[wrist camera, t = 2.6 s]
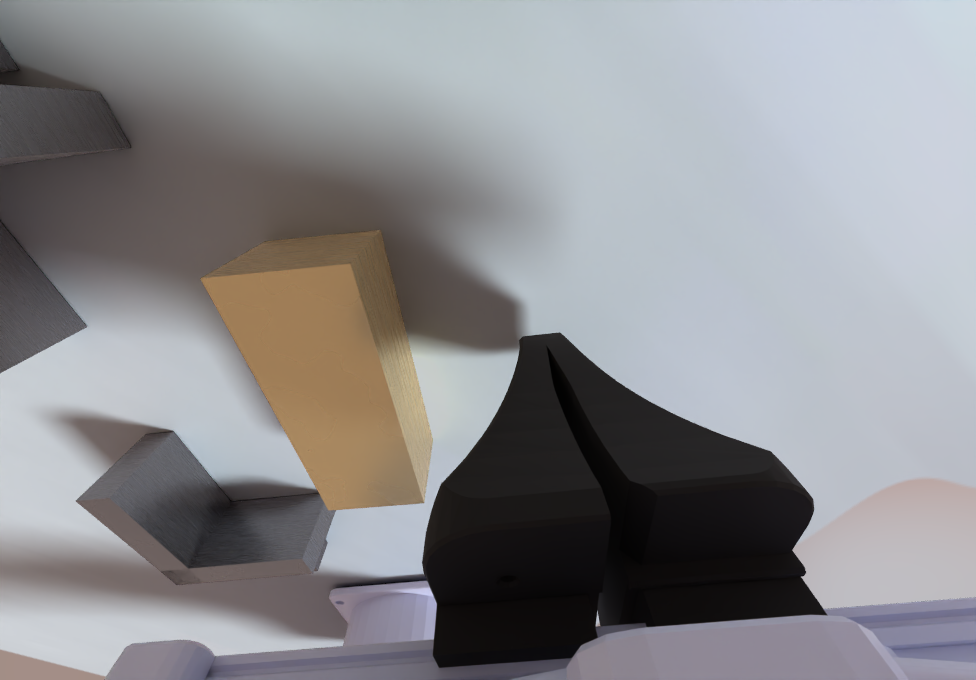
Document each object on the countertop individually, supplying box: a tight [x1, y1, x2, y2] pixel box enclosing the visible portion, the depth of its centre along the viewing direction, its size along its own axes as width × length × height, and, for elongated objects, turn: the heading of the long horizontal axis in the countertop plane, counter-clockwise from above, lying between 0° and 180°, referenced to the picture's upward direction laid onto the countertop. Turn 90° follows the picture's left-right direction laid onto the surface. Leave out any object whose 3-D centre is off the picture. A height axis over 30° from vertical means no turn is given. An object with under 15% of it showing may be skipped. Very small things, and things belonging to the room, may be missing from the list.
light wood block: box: [200, 230, 433, 510], centre depth 12 cm, size 9×4×3 cm, turn 5°
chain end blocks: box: [0, 41, 336, 585], centre depth 12 cm, size 23×6×3 cm, turn 6°
